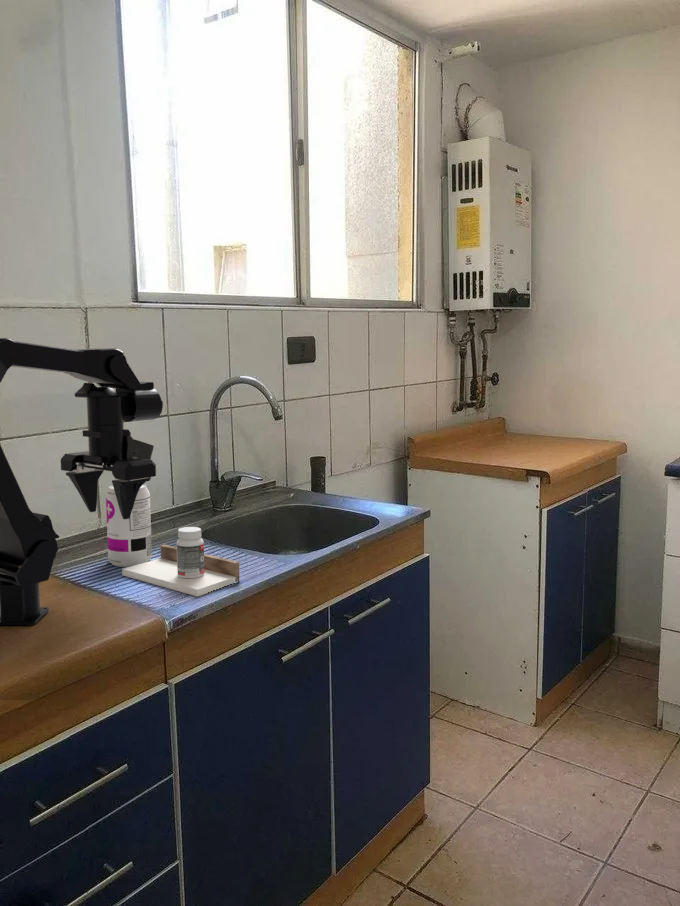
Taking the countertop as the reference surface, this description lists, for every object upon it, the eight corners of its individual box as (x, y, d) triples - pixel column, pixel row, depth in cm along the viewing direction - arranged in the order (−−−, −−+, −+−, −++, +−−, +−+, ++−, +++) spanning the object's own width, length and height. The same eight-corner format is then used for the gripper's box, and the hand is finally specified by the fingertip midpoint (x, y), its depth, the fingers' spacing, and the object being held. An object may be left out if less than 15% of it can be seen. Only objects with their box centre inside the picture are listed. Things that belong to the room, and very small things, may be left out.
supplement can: (107, 569, 137) (104, 491, 135) (109, 557, 145) (106, 483, 143) (152, 566, 139) (149, 489, 137) (151, 555, 147) (149, 482, 145)
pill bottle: (206, 577, 128) (206, 531, 127) (179, 580, 127) (178, 533, 126) (201, 570, 133) (200, 525, 132) (175, 572, 131) (174, 527, 130)
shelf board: (239, 582, 130) (239, 561, 129) (197, 596, 122) (197, 575, 121) (165, 563, 142) (164, 544, 141) (122, 575, 134) (121, 555, 133)
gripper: (180, 423, 123) (182, 514, 125) (111, 418, 134) (114, 501, 136) (125, 428, 114) (129, 526, 116) (56, 422, 125) (61, 511, 127)
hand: (109, 515), depth 124 cm, fingers open, 9 cm apart
